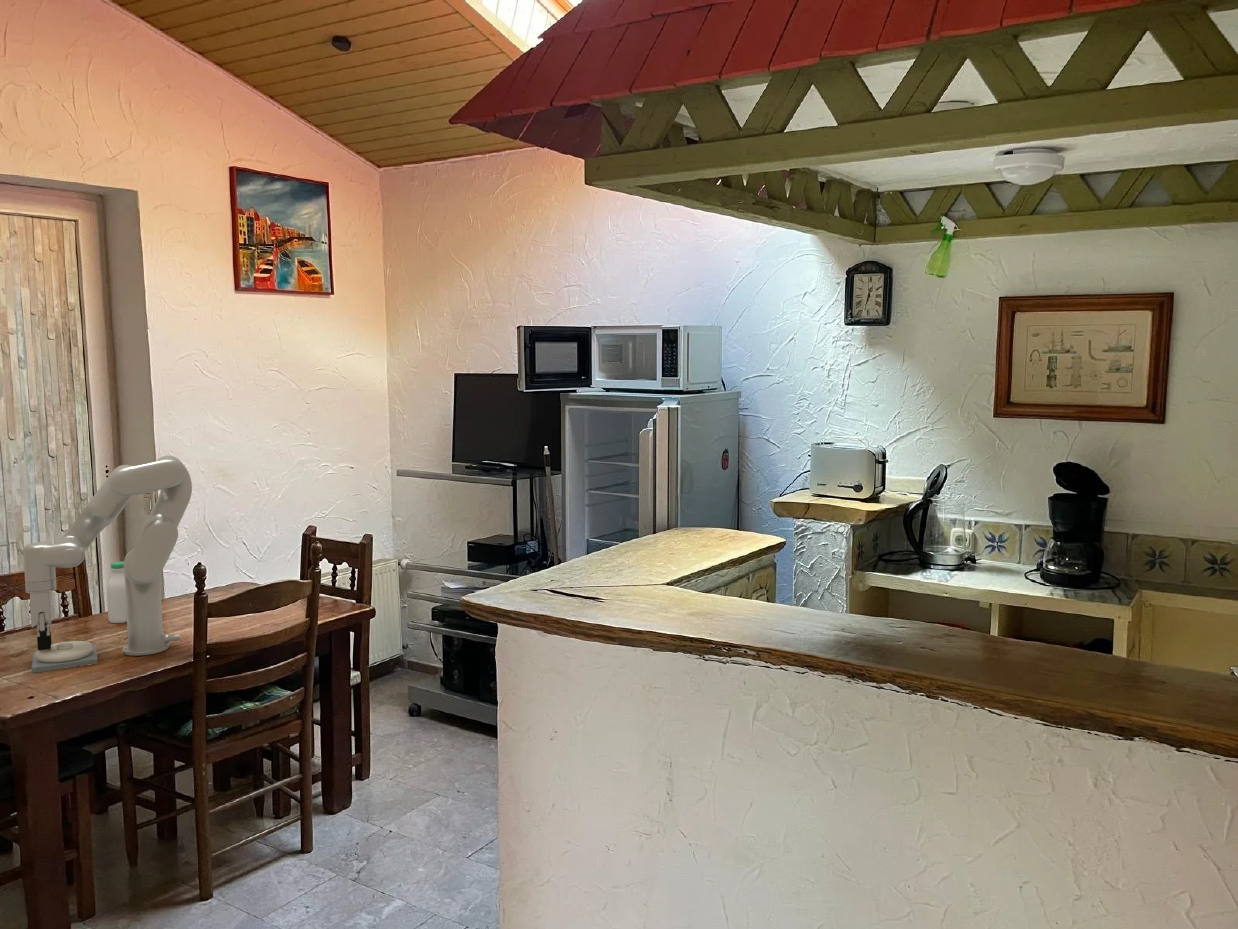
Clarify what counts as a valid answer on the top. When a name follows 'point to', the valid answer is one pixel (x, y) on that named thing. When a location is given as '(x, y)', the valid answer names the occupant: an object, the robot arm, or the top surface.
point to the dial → (65, 651)
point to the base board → (48, 666)
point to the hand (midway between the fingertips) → (44, 647)
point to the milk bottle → (117, 594)
